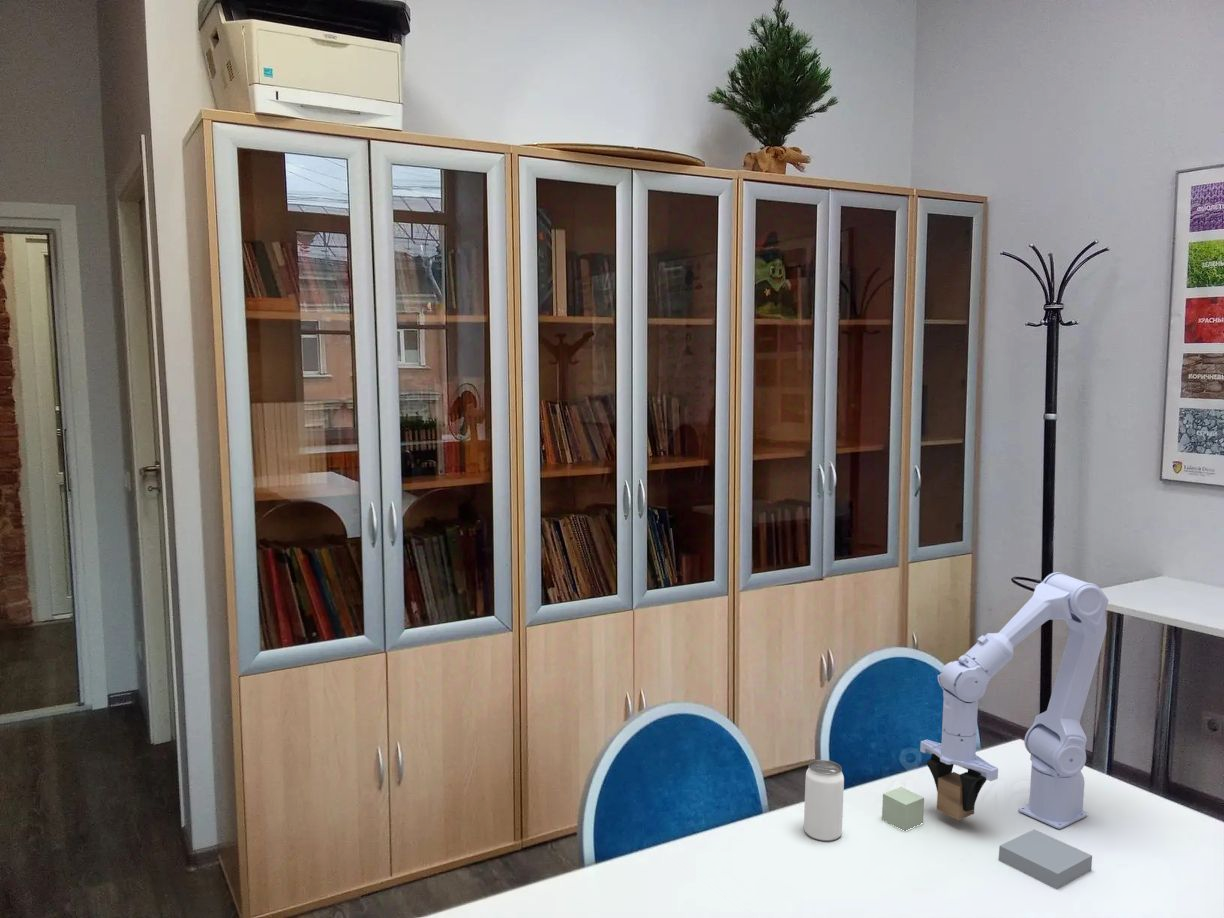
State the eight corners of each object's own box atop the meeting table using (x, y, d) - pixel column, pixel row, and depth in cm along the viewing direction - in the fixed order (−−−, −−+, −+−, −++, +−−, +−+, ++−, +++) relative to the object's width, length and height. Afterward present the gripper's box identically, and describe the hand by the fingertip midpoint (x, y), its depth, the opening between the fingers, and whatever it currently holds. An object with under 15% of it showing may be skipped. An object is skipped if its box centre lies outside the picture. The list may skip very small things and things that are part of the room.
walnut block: (952, 803, 166) (953, 771, 165) (974, 813, 162) (975, 781, 161) (936, 809, 163) (938, 777, 162) (958, 820, 159) (960, 787, 159)
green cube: (900, 813, 166) (901, 786, 165) (923, 824, 162) (924, 797, 161) (881, 820, 163) (883, 793, 163) (904, 832, 159) (906, 804, 158)
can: (842, 844, 154) (845, 776, 153) (803, 839, 156) (806, 772, 154) (840, 825, 161) (843, 760, 159) (803, 821, 162) (805, 757, 161)
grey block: (1033, 845, 156) (1034, 829, 155) (1091, 873, 147) (1092, 855, 147) (998, 862, 150) (999, 845, 150) (1056, 892, 142) (1057, 873, 141)
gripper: (910, 721, 165) (907, 793, 166) (982, 749, 153) (978, 826, 154) (935, 713, 169) (932, 784, 170) (1006, 740, 157) (1002, 815, 158)
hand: (955, 803), depth 162 cm, fingers closed on walnut block, 4 cm apart
